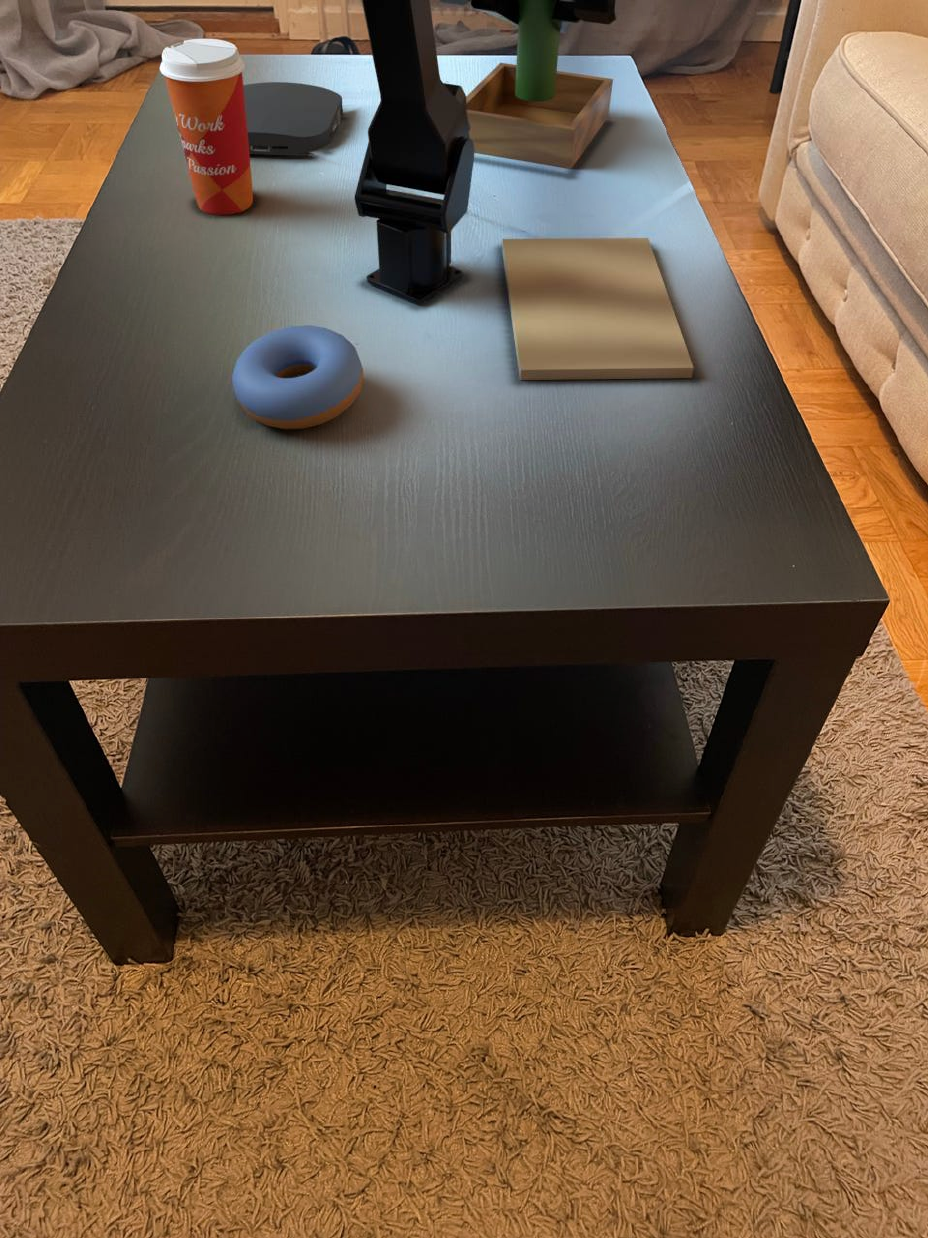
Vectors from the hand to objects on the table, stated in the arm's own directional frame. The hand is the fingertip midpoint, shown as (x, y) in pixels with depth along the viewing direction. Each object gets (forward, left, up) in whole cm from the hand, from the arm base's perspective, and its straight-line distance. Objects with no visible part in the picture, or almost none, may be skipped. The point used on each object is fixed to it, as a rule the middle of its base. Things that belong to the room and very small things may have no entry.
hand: (543, 25), depth 103 cm
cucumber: (-1, 0, -6) cm, 7 cm away
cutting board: (-28, -25, -11) cm, 40 cm away
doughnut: (-54, -15, -11) cm, 58 cm away
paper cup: (-34, +15, -11) cm, 39 cm away
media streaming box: (-18, +24, -11) cm, 32 cm away
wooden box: (-1, 0, -11) cm, 11 cm away
